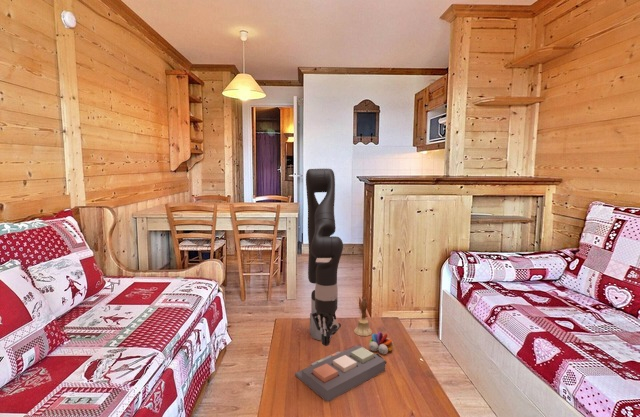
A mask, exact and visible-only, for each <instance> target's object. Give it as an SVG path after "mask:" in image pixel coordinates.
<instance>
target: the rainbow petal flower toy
mask: <svg viewBox="0 0 640 417" xmlns="http://www.w3.org/2000/svg"><path fill="white" fill-rule="evenodd" d="M393 346H394V342H393V340H392V339H391V338H388V334H387V333H385V334H383V332H382V331H378V332H377V333H372V334H371V339H370V340H369V344H368V347H369V350H370V351H371V352H377V351H378V352H379V353H380V354H381V355H386V354H387V353H388V352H391V351H392V350H393Z"/></svg>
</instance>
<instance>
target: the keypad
mask: <svg viewBox="0 0 640 417" xmlns="http://www.w3.org/2000/svg"><path fill="white" fill-rule="evenodd" d="M361 347H362V346H361V345H360V344H357V345H355V346H352V347H350V348H348V349H345V350H343V351H336V352H335V353H332V354H329V355H327V356H325V357H323V358H321V359H318V360H315V361H314V362H312V363H310V365H309V366H308V367H305V368H303V369H301V370H299V371H297V372H295V373H294V376H295V377H296V378H298V379H299V380H300V381H301V382H302V383H303V384H305V385H306V386H307V387H308V388H309V389H311V390H312V391H313V392H314V393H316V394H317V395H318V396H319V398H320V397H321V399H323V400H324V401H325V402H326V403H328V402H330V401H333V400H334V399H336V398H338V397H339V396H341V395H343V394H345V393H347V392H348V391H350V390H352V389H354V388H356V387H358V386H360V385H361V384H363V383H365V382H367V381H368V380H370V379H372V378H374V377H376V376H378V375H380V374H381V373H383V372H385V371H386V364H387V361H386V359H385V358H383V357H382V356H381V357H382V358H383V359H382V358H381V357H379V356H377V355H375V354H376V353H374V359H372V360H370V361H368V362H366V363H364V364H361V363H360V362H358V361H357V360H355V359H353V358H352V357H351V352H353V351H355V350H357V349H359V348H361ZM344 355H346V356H348V357H349V358H351V359H353V360H354V361H356V362H357V367H356V368H354V369H352V370H350V371H348V372H346V373H343V372H341V371H340V370H339V369H337V368H336V367H334V366H333V360H335V359H337V358H339V357H342V356H344ZM326 363H327V364H328V365H330V366H331V367H332V368H334V369H335V370H337V371H338V377H336V378H334V379H332V380H330V381H328V382H326V383H323V382H322V381H320V380H319V379H318V378H316V377H315V376H314V375H313V369H315V368H318V367H320V366H322V365H324V364H326ZM385 363H386V364H385Z"/></svg>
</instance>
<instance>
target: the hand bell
mask: <svg viewBox="0 0 640 417" xmlns="http://www.w3.org/2000/svg"><path fill="white" fill-rule="evenodd" d="M360 305H361V307H360V308H361V318H359V319H358V323H357V324H356V328H354V330H353V333H354V334H355V335H357V336H360V337H369V336H372V334H373V330H372V329H371V328H370V325H369V320H368V319H367V318H366V317H367V316H366V311H367V309H368V302H367V298H366V297H363V298H362V301H361V304H360Z"/></svg>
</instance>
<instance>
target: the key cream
mask: <svg viewBox="0 0 640 417" xmlns="http://www.w3.org/2000/svg"><path fill="white" fill-rule="evenodd" d="M333 366H334V367H336V368H337V369H339V370H340V371H341V372H343V373H346V372H348V371H350V370H352V369H354V368H356V367H357V362H356V361H354V360H353V359H351V358H349V357H348V356H346V355H344V356H342V357H339V358H337V359H335V360H333Z"/></svg>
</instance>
